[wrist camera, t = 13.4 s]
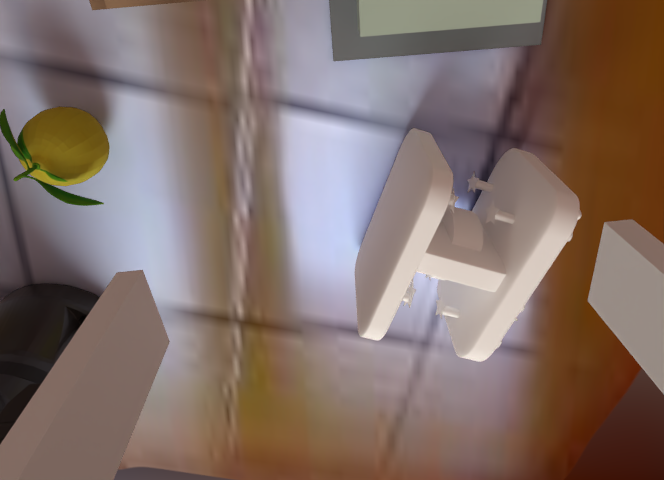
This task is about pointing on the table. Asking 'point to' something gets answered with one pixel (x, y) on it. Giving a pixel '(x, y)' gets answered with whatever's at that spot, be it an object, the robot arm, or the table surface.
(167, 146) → the table surface
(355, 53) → the mat
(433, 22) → the lid
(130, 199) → the table surface
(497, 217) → the cable organizer
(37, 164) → the lemon
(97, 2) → the box
